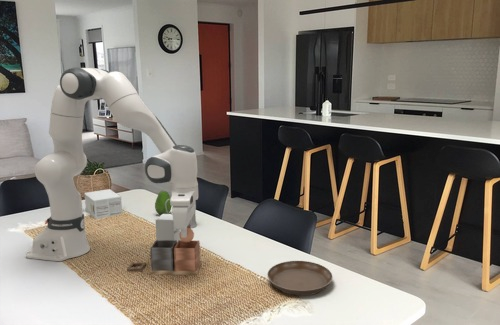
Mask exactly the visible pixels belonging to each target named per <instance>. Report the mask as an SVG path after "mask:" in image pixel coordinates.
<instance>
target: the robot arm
mask: <svg viewBox="0 0 500 325" xmlns="http://www.w3.org/2000/svg"><path fill="white" fill-rule="evenodd" d="M52 96H53V97H52V100H51V107H50V117H49V126H48V127H49V128H48V133H49V137H50V138H52V142H53V152H52V153H50V154H47V155H45V156H44V157H42V158H41V159H40V160H39V161H38V162H36V164H35V166H34V175H35V177H36V179H37V180H38V182H40V183H41V184H42V185H43V187H44V188H45V192H46V193H47V196H48V202H49V209H50V216H49V217H48V218H47V219H46V220H44V225H47V226H46V227H45V228H44V229H43V230H42V231H41V232H39V233H38V234H37V235H36V236H35V237H34V239H33V240H32V246H31V248H30V249H29V250H27V251H26V253H25V254H26V256H25V258H26V259H31V260H32V259H34V260H42V261H44V260H46V261H51V262H52V261H53V262H62V261H65V260H68V259H71V258H77V257H81V256H83V255H85V254H87V253H88V252H89V251H90V250H91V246H90V244H89V241H88V238H87V234H86V230H85V229H86V221H85V220H86V219H85V214H84V213H83V202H82V195H81V193H80V191H79V190H78V189H77V187H76V185H75V182H74V177H76V176H79V175H80V174H81V173H82V172H83V171H84V170H85V168H86V167H87V164H88V158H87V156H86V154H85V152H84V146H83V127H84V116H85V106H86V103H87V102H88V101H99V100H103V101H104V103H105V104H106V106H107V108H108V110H109V111H110V113H111V115H112V117H113V119H115V121H116V122H117V123H118V124H119V125H120V126H121V127H124V128H126V129H130V130H131V129H132V130H136V131H139V132H141V133H144V134H146V135H147V136H148V137H149V138H150V140H151V141H152V142H153V144H154V145H155V146H156V148H157V149H158V151H159V152H160V153H159V154H155V155H152V156H151V157H149V158H148V159H147V160H146V161H145V164H144V173H145V176H146V178H147V179H148V180H149V181H150V182H152V183H153V184H163V183H164V184H165V183H170V186H171V188H170V189H171V193H170V194H171V197H170V205H171V206H172V207H171V211H172V214H173V222H174V227H175V229H179V230H180V231H181V237H183V238H186V237H187V228H190V229H192V228H191V221H192V217H193V215H194V213H195V214H196V211H197V202H196V200H197V201H198V199H199V182H198V179H197V178H198V173H199V172H198V159H197V154H196V151H195V149H194V148H193V147H191V146H189V145H183V144H177V143H176V142H175V140H174V139H173V138H172V136H171V135H170V133H169V132H168V131H167V129H166V128H165V126H164V125H163V124H162V122H161V121H160V120H159V118H158V117H157V116H156V115H155V114H154V113H153V112H152V111H151V110H150V108H148V107H147V105H146V103H144V101H143V99H142V98H141V96H140V95H139V93H138V92H137V89H136V88H135V87H134V85H133V84H132V82H131V81H130V80H129V78H127V77H126V75H125V74H124V73H123V72H120V71H116V70H115V71H109V70H106V69H103V68H102V69H100V68H95V67H71V68H68V69H66V70H64V71H63V73H62V74H61V76H60V79H59V84H58V85H57V86H56V87H55V90H54V93H53V95H52Z"/></svg>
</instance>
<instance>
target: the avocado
mask: <svg viewBox="0 0 500 325" xmlns="http://www.w3.org/2000/svg"><path fill="white" fill-rule="evenodd" d="M168 199H171V197H170V194H169V192H167V191H165V190H160V191H159V193H158V194H157V197H156V199H155V203H154V210H155V212H156V213H157V214H158V215H159V216H161V215H162V214H168V213H169V214H170V212H171V211H172V207H173V206H171V205H170V200H168ZM167 200H168V201H167ZM166 201H167V203H166V207H167V211H168V213H167V211H166V208H165V202H166Z"/></svg>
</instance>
